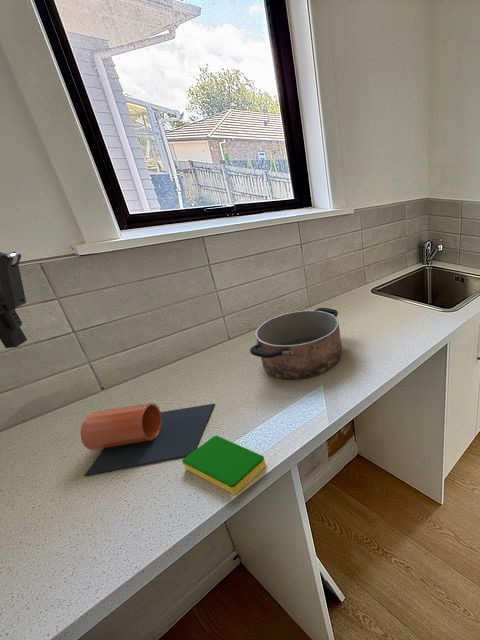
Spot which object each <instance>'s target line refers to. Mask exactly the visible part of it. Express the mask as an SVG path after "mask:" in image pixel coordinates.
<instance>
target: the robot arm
mask: <svg viewBox="0 0 480 640" xmlns="http://www.w3.org/2000/svg"><path fill="white" fill-rule="evenodd" d="M21 258H22V254H21V253H20V252H19V251H12V252H11V251H7V250H4V249H1V248H0V341H1V343H2V345H3V346H4V348H5V349H10V348H13V349H14V348H17V347H19V346H21V345H22V344H24V343H25V342H27V341H28V339H27V336H26V335H25V333H24V332H23V330H22V328H21V326H23V321H22V319H21V318H20V316H19V313H18V312H17V310H16V309H18V308H19V307H21V306H23V305H25V304H27V299H26V295H25V290H24V289H25V288H24V285H23V280H22V275H21V271H20V265H19V264H20V262H21Z"/></svg>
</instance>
